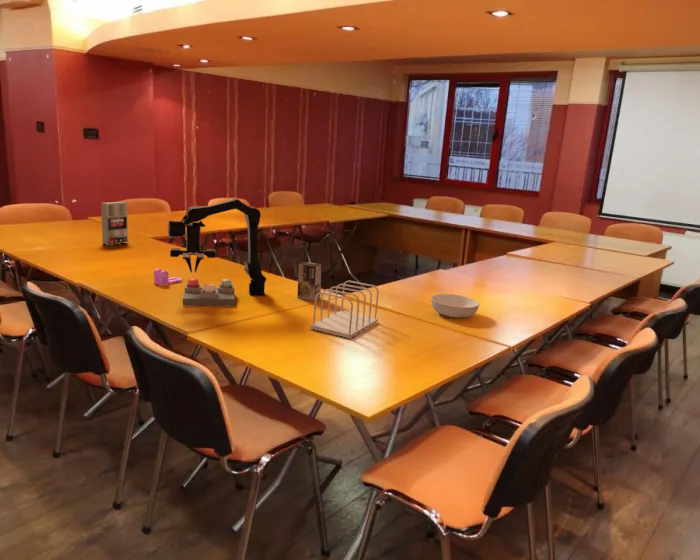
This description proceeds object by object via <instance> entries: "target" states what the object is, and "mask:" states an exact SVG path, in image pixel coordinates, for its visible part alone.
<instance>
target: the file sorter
mask: <svg viewBox="0 0 700 560" xmlns="http://www.w3.org/2000/svg"><path fill="white" fill-rule="evenodd" d="M347 283H352V284H358V285H362V286H357V285H351V284H347ZM363 286H367V287H371V288H372V287H373V288H374V289H375V290H376V299H375V311H374V317H371V314H372V313H371V312H372V303H373V301H372V299H373V293H372V291H371V290H370V289H369V288H367V287H363ZM347 287H349V288H347ZM352 288H354V289H352ZM338 289H339V290H338ZM358 289H359V290H358ZM341 290H342V291H341ZM362 290H365V291H367V292H369V295H370V298H369V313H368V316H366V315H365V314H366V312H365V311H366V299H367V298H366V294H365V293H364V292H363V291H362ZM346 291H350V292H356V293H360V294H362V295H363V311H362V314H359V312H360V311H359V310H360V298H359V296H358V295H357V294H356V293H350V292H346ZM327 292H328V293H327ZM331 293H335V294H331ZM338 293H339V294H342V295H338ZM319 294H320V320H318V321H316V311H317V296H318V295H319ZM379 294H380V293H379V288H378V287H377V286H376V285H374V284H368V283H364V282H359V281H353V280H346V281H345V282H343V283H340V284H338V285H337V286H332V287H330V288H327V289H324V290H323V291H322V292H320V293H317V294H316V296H315V301H314V306H313V307H314V308H313V322H312V323H311V324H310V328H309V329H310V330H313V329H314V330H313V331H317V330H318V332H321V331H322V333H325V332H327V333H326V334H329V333H331V334H330V335H332V334H335V335H334V336H336V335H339V336H338V337H340V336H343V337H342V338H344V337H346V338H345V339H348V338H351V339H353V338H354V337H353V336H355V335H356V334H358V333H360V332H361V331H363V330H365V329H366V328H368V327H370V326H371V325H373V324H374V323H376V322H379V319H378V318H377V314H378V313H377V312H378V301H379ZM324 295H325V296H328V303H327V304H328V305H327V317H324V318H323V307H324V306H323V304H324V302H323V301H324ZM345 295H349V296H353V297H355V298H356V301H357V308H356V313H354V312H353V310H354V309H353V308H354V304H353V300H351V299H350V298H349V297H345ZM331 297H333V298H334V299H335V300H334V301H335V302H334V313H333V314H330V310H331V308H330V307H331V306H330V305H331ZM338 299H341V307H340V308H341V309H340V311H337V303H338ZM344 300H347V301H349V302H350V311H345V310H343V309H344ZM373 326H374V325H373ZM370 328H371V327H370ZM368 329H369V328H368ZM366 330H367V329H366ZM366 330H365V331H366ZM363 332H364V331H363ZM361 333H362V332H361ZM361 333H360V334H361ZM358 335H359V334H358ZM356 336H357V335H356ZM356 336H355V337H356ZM352 337H353V338H352Z"/></svg>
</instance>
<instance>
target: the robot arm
mask: <svg viewBox="0 0 700 560" xmlns="http://www.w3.org/2000/svg"><path fill="white" fill-rule="evenodd" d="M232 210H238V211H240V212H241V213H243V215H244V219H245V223H246V225H247V246H248V247H247V249H248V250H247V251H248V254H247V255H248V256H247V257H248V258H247V261H244V268H243V269H244V272H245V273H246V275H247V276H249V279H250V282H249V283H248V294H249V295H250V296H265V285H266V284H265V283H266V281H267V277H265V275H264V274H262V273H263V272H262V271H263V270H262V268H261V263H260V260H259V242H258V241H259V240H258V239H259V237H258V235H259V234H258V232H259V230H258V228H259V225H260V222H261V217H262V216H261V211H260V210H259V209H258V208H256V207H254V206H252V205H246V204H245V203H243V202H242V201H241V200H239V199H238V198H232V199H229V200H225V201H222V202H217V203H213V204H210V205H196V206H189V207H188V208H187V209H186V211H185V214H184V216H183V217H182V218H181V220H169V221H168V226H167V235H168V238H183V237H184V236H185V235H186V239H183V247H184V248H186V250H181V248H180V247H173V248H171V249H170V251H169V257H171V258H178V257H180V256H182V260H185V262H186V264H187V266H188V269H189V272H190V273H193V267H192V259H191V256H196V260H195V265H194V273H197V270H198V268H199V264H200V263H201V261H202V260H204V258H205V257H207V258H208V259H215V258H217V250H216V249H215V248H206V250H202V243H201V228H205V227H206V224H204V223H203V221H202V220H205V219H206V218H208V217H209V216H212V215H215V214H216V215H217V214H220V213H224V212H228V211H232Z"/></svg>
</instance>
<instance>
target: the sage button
mask: <svg viewBox="0 0 700 560" xmlns="http://www.w3.org/2000/svg"><path fill="white" fill-rule="evenodd" d="M220 284H221V287H222V288H231V284H232V279H230V278H222V279H221V280H220Z"/></svg>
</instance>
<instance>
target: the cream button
mask: <svg viewBox="0 0 700 560" xmlns="http://www.w3.org/2000/svg"><path fill="white" fill-rule="evenodd" d="M215 286H216V285H215V284H214V283H206V284H204V285H203V288H204V293H214V292H215V288H216V287H215Z"/></svg>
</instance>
